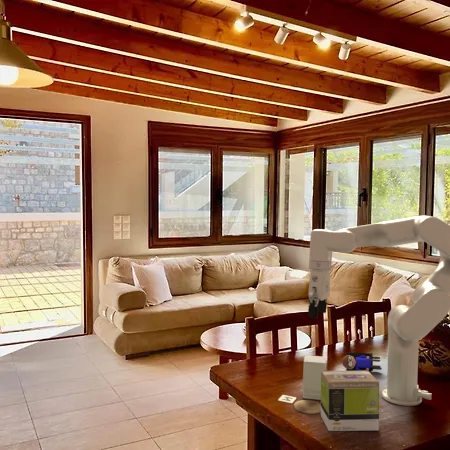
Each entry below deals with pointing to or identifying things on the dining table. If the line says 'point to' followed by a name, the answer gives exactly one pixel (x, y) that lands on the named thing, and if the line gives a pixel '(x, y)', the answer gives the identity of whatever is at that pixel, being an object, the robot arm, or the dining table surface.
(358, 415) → the tea box
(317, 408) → the cork coaster
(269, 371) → the dining table surface
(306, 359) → the supplement box
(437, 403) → the dining table surface
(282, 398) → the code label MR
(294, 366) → the dining table surface
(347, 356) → the character figurine
